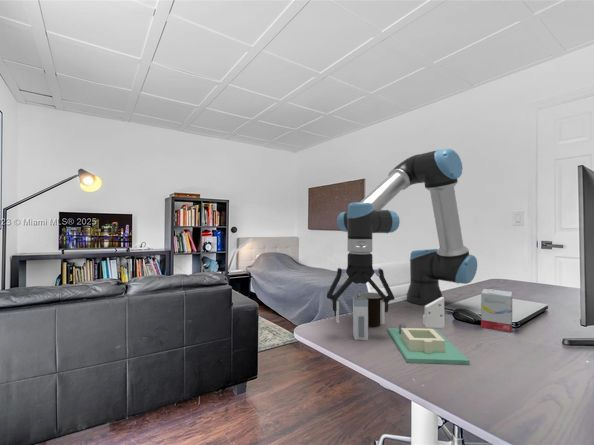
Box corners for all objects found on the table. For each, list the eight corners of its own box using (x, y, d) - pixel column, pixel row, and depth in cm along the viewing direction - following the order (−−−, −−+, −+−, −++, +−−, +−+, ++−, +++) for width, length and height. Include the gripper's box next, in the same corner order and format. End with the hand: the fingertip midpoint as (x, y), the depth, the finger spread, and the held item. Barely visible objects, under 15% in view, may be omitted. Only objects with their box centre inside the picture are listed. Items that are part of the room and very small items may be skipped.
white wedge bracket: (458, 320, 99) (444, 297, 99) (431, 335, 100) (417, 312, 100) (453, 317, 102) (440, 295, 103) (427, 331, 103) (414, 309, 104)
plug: (353, 334, 94) (352, 296, 94) (366, 335, 93) (366, 296, 93) (354, 340, 89) (354, 300, 89) (368, 340, 89) (368, 300, 89)
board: (387, 331, 97) (387, 318, 97) (435, 332, 95) (435, 319, 95) (407, 362, 75) (406, 346, 75) (469, 364, 73) (469, 348, 73)
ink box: (512, 332, 94) (511, 295, 94) (480, 327, 100) (480, 291, 100) (512, 325, 101) (512, 290, 101) (483, 320, 106) (483, 287, 107)
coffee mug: (386, 328, 99) (386, 298, 99) (360, 328, 99) (360, 298, 99) (377, 317, 111) (377, 290, 111) (354, 317, 111) (354, 290, 111)
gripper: (319, 253, 89) (319, 324, 89) (404, 254, 87) (405, 327, 87) (319, 251, 96) (319, 317, 96) (398, 252, 94) (398, 319, 94)
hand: (359, 322), depth 91 cm, fingers open, 13 cm apart
